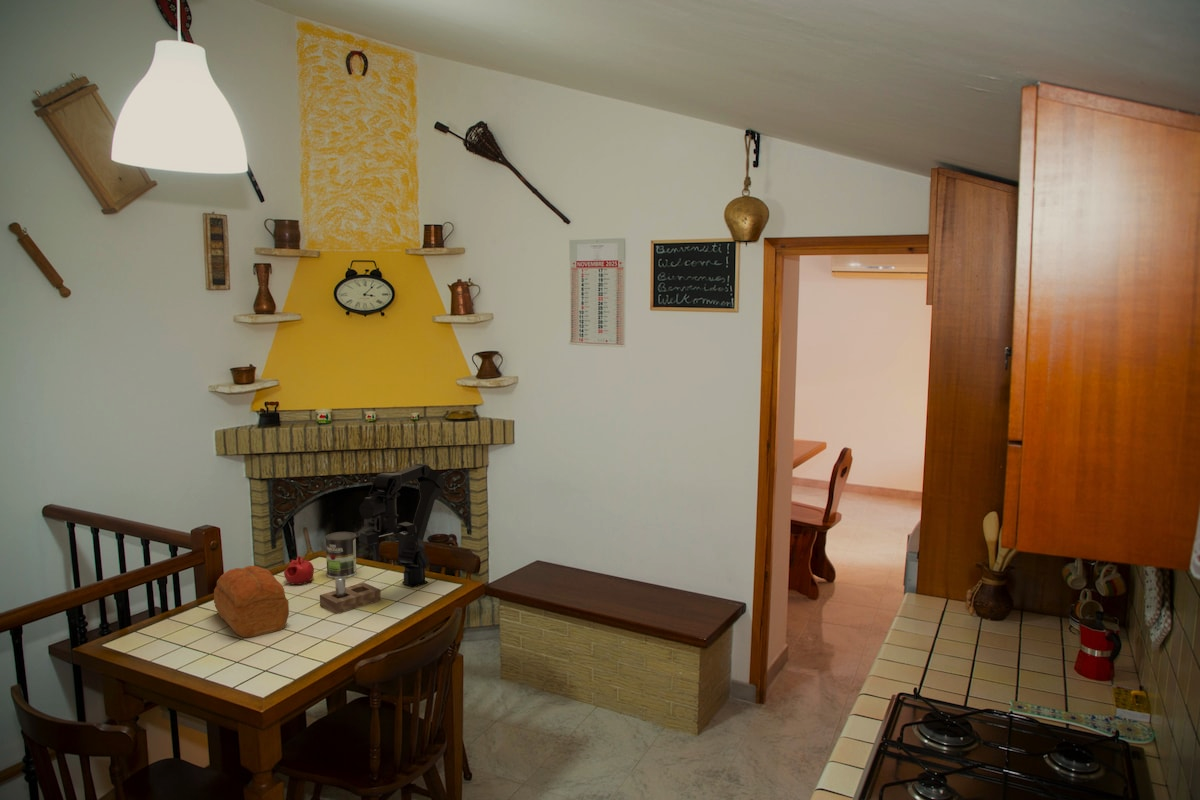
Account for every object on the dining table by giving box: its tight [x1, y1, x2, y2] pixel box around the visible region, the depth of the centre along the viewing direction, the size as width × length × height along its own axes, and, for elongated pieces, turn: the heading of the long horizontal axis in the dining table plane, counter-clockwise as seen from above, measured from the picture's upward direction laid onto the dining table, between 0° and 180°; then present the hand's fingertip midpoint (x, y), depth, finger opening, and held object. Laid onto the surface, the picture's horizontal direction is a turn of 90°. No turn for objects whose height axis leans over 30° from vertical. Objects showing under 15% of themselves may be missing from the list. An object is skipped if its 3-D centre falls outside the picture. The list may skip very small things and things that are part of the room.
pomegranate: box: [283, 555, 315, 585], centre depth 284 cm, size 10×10×9 cm
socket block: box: [319, 582, 382, 614], centre depth 265 cm, size 16×10×4 cm, turn 138°
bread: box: [213, 565, 290, 638], centre depth 249 cm, size 16×27×16 cm, turn 39°
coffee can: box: [325, 531, 357, 579], centre depth 291 cm, size 10×10×14 cm
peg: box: [334, 577, 346, 599], centre depth 262 cm, size 3×3×9 cm
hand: (388, 558), depth 270 cm, fingers open, 9 cm apart
